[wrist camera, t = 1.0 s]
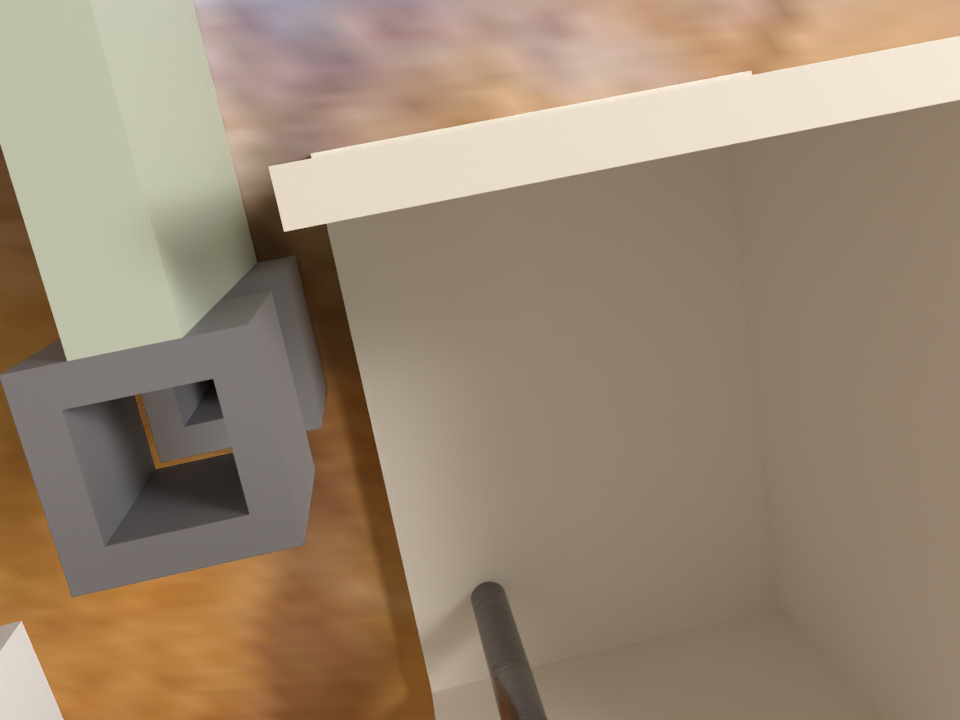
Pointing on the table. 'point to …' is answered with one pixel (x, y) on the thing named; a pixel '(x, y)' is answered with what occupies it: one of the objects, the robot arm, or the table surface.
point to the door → (149, 302)
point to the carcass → (673, 388)
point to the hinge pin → (505, 655)
